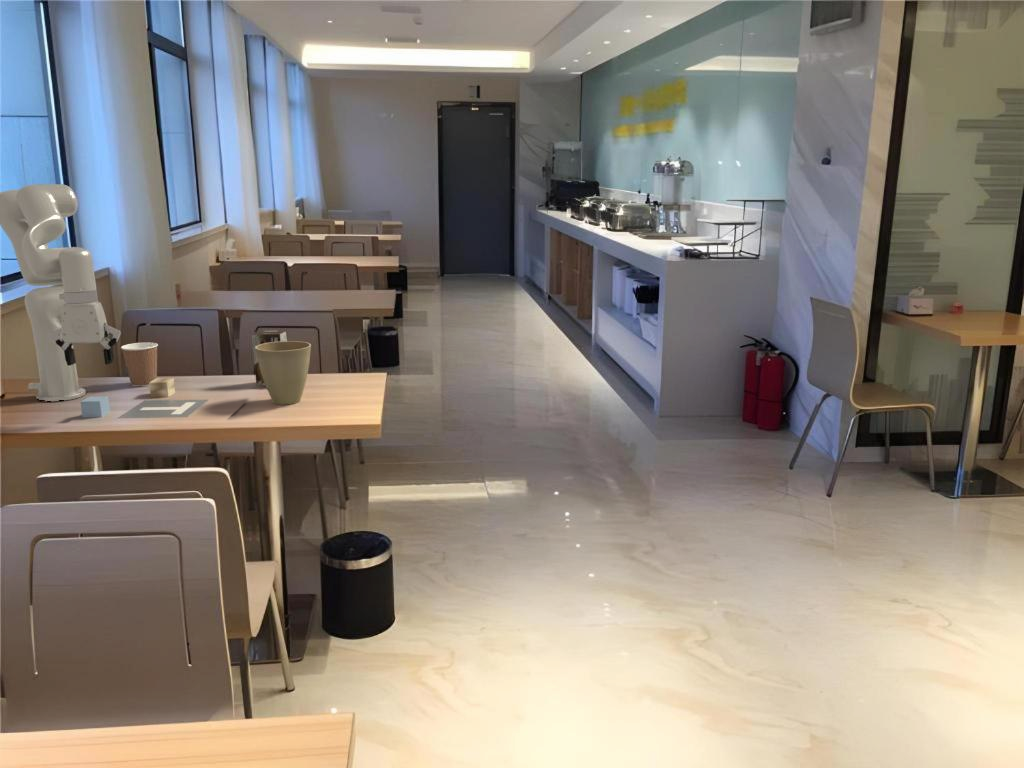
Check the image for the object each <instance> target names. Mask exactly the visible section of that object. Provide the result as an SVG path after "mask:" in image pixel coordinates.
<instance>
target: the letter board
mask: <svg viewBox="0 0 1024 768" xmlns="http://www.w3.org/2000/svg"><path fill="white" fill-rule="evenodd" d="M209 400H210V399H160V400H159V399H155V400H154V399H153V400H152V399H151V400H150V399H149V400H148V399H147V400H143V401H142V402H139V404H137V405H135V406H134V407H132V408H131V409H129V410H128V411H126V412H124V413H123V414H121V415H120V416H118V417H117V419H159V418H160V419H161V418H164V419H166V418H188V417H189V416H190V415H192V414H193V413H194V412H195V411H197V410H198V409H200V408H201V407H202V406H203V405H205V403H207V402H208V401H209Z"/></svg>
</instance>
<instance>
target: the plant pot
mask: <svg viewBox="0 0 1024 768" xmlns="http://www.w3.org/2000/svg"><path fill="white" fill-rule="evenodd" d="M255 349H256V354H257V358H258V363H259V366H260V370H261V373H262V376H263V379H264V382H265V385H266V386H265V387H266V389H267V392H268V394H269V397H270V399H271V400H272V403H273V404H277V405H281V404H282V406H283V405H284V404H286V405H294V404H297V403H299V402H300V401H301V400H302V396H303V393H304V391H305V390H304V389H305V386H306V382H307V378H308V373H309V367H310V361H311V359H310V358H311V350H312V344H311V343H309V342H307V341H299V340H298V341H296V340H295V341H294V340H290V341H289V340H288V341H280V342H270V343H264V344H260V345H257V346H256V347H255ZM293 403H294V404H293Z"/></svg>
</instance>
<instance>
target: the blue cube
mask: <svg viewBox="0 0 1024 768" xmlns="http://www.w3.org/2000/svg"><path fill="white" fill-rule="evenodd" d="M80 409H81V416H82V418H103V417H105V416H106V415H108V414H109V413H111V408H110V399H109V396H107V395H106V396H88V397H86V398H84V399H82V400H80Z"/></svg>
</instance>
